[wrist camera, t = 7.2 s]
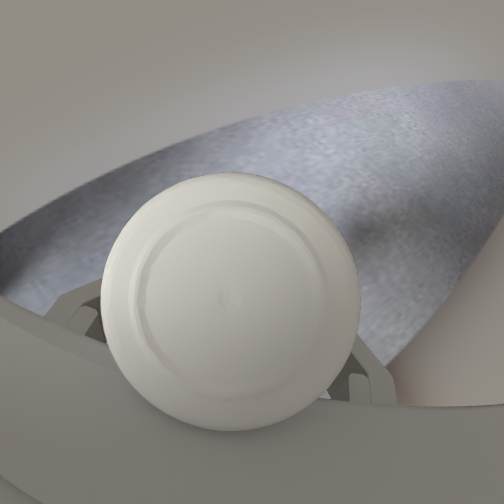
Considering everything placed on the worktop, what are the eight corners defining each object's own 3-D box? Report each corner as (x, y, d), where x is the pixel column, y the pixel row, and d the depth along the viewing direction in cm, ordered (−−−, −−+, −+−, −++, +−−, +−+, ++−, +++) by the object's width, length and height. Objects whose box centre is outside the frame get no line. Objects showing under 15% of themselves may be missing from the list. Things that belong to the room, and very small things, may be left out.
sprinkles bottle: (245, 360, 17) (260, 482, 4) (182, 314, 18) (48, 322, 4) (290, 297, 18) (413, 266, 5) (228, 252, 18) (203, 119, 5)
